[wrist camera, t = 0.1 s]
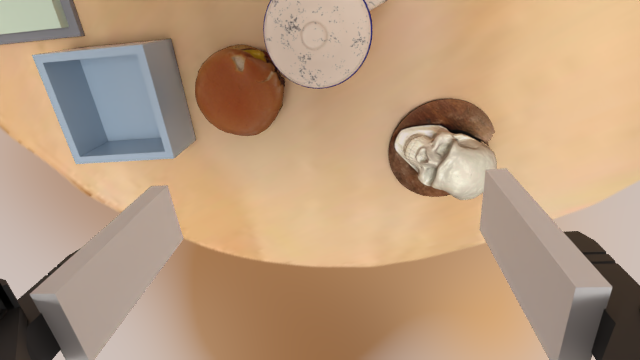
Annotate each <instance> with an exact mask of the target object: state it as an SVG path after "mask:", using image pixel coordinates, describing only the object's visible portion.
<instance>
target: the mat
mask: <svg viewBox="0 0 640 360" xmlns="http://www.w3.org/2000/svg"><path fill="white" fill-rule="evenodd" d="M60 2H61V5H62V8H63V11H64V13H65V16H66V19H67V22H68V25H69V27H65V28H56V29H47V30H37V31H28V32H19V33H10V34H0V44H9V43H19V42H28V41H38V40H48V39H57V38H67V37H76V36H85V35H84V32H83V29H82V26H81V23H80V20H79V17H78V14H77V11H76V8H75V5H74V3H73V0H60Z"/></svg>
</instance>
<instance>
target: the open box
mask: <svg viewBox="0 0 640 360" xmlns="http://www.w3.org/2000/svg"><path fill="white" fill-rule="evenodd" d="M32 56H33V59H34V61H35V64H36V66H37V69H38V71H39V74H40V76H41V79H42V81H43V84H44V86H45V89H46V91H47V94H48V96H49V99H50V101H51V104H52V106H53V108H54V111H55V113H56V116H57V118H58V121H59V123H60V126H61V128H62V131H63V133H64V136H65V138H66V141H67V143H68V146H69V148H70V151H71V153H72V156H73V158H74V161H75V163H76V164H84V163H101V162H119V161H136V160H153V159H171V158H175V157H176V156H177V155H179V154H180V153H181V152H182V151H183V150H185V149H186V148H187V147H188V146H189V145H190V144H192V143H193V142H194V141H195V140H196V138H195V134H194V130H193V126H192V122H191V118H190V114H189V110H188V105H187V101H186V97H185V93H184V89H183V85H182V81H181V77H180V73H179V69H178V65H177V61H176V57H175V53H174V49H173V45H172V41H171V39H164V40H154V41H144V42H134V43H124V44H114V45H104V46H94V47H83V48H74V49H67V50H61V51H55V52H49V53H43V54H36V55H32Z"/></svg>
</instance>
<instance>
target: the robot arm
mask: <svg viewBox="0 0 640 360" xmlns="http://www.w3.org/2000/svg"><path fill="white" fill-rule="evenodd" d="M480 231H481V233H482V235H483V237H484V239H485V241H486V243H487V244H488V246H489V248H490V250H491V252H492V254H493V256H494V257H495V259H496V261H497V263H498V265H499V267H500V268H501V270H502V272H503V274H504V276H505V278H506V280H507V282H508V283H509V285H510V287H511V289H512V291H513V293H514V294H515V297H516V298H517V300H518V302H519V304H520V306H521V307H522V309H523V311H524V313H525V315H526V317H527V319H528V320H529V322H530V324H531V326H532V328H533V330H534V332H535V334H536V336H537V337H538V339H539V341H540V343H541V345H542V347H543V349H544V350H545V352H546V354H547V356H548V358H549V360H591V357H592V354H593V356H594V357H595V359H596V360H640V285H638V284H637V282H636V281H635V280H634V279H633V278H632V277H631V276H630V275H628V273H627V272H626V271H624V269H622V268H621V266H620V265H618V264H616V263H615V260H614V259H612V257H611V256H610V255H609V254H606V251H605V250H604V249H603V248H602V247H601V246H600V245H599V244H598V243H597V242H596V241H594V240H593V239H591V238H589V237H587V236H586V235H584V234H582V233H580V232H578V231H572V232H563V231H562V230H561V229H560V228H559V227H558V226H557V225H556V223H555V222H554V221H553V220H552V219H551V218H550V217H549V216H548V214H547V213H546V212H545V211H544V210H543V209H542V208H541V207H540V206H539V204H538V203H537V202H536V201H535V200H534V199H533V198H532V197H531V195H530V194H529V193H528V192H527V191H526V190H525V189H524V188H523V187H522V185H521V184H520V183H519V182H518V181H517V180H516V179H515V178H514V177H513V175H512V174H511V173H510V172H509V171H508V170H507V169H488V170H486V171H485V181H484V191H483V201H482V211H481V221H480ZM182 240H183V235H182V232H181V229H180V225H179V222H178V219H177V215H176V212H175V209H174V205H173V202H172V199H171V195H170V192H169V189H168V186H151V187H150V188H148V189H147V190H146V191H145V192H144V193H143V194H142V195H141V196H139V197H138V198H137V199H136V200H135V201H134V202H133V203H132V204H130V205H129V206H128V207H127V208H126V209H125V210H124V211H123V212H121V213H120V214H119V215H118V216H117V217H116V218H115V219H114V220H112V221H111V222H110V223H109V224H108V225H107V226H106V227H104V228H103V229H102V230H101V231H100V232H99V233H98V234H97V235H95V236H94V237H93V238H92V239H91V240H90V241H89V242H88V243H87V244H85V245H84V246H83V247H82V248H81V249H79V250H77V251H75V252H74V253H72V254H70V255H69V256H67V257H66V258H65V259H64V260H63V261H62V262H61V263H60V264H58V265H57V267H55V268H54V269H53V270H51V271H50V272H49V273H48V275H47V276H44V277H43V279H41V280H40V281H39V282H38V283H36V285H34V286H33V287H32V288H31V289H30V290H28V291H27V292H26V293H25V294H24V295H23V296H22V297H21V298H19V299H18V300H17V299H16V297H15V296H14V294H13V292H12V290H11V289H10V287H9V285H8V283H7V282H6V280H3V279H0V360H52V359H53V358H54V357H55V356H56V354H57V353H58V352H59V351H60V350H61V352H62V354H63V356H64V357H65V359H66V360H94V359H95V358H96V357H97V355H98V354H99V353H100V351H101V350H102V349H103V347H104V346H105V345H106V343H107V342H108V341H109V339H110V338H111V336H112V335H113V334H114V332H115V331H116V330H117V328H118V327H119V326H120V324H121V323H122V322H123V320H124V319H125V318H126V316H127V315H128V313H129V312H130V311H131V309H132V308H133V307H134V305H135V304H136V303H137V301H138V300H139V298H140V297H141V296H142V294H143V293H144V292H145V290H146V289H147V287H148V286H149V285H150V284H151V282H152V281H153V280H154V278H155V277H156V275H157V274H158V273H159V271H160V270H161V269H162V267H163V266H164V265H165V263H166V262H167V261H168V259H169V258H170V256H171V255H172V254H173V252H174V251H175V250H176V248H177V247H178V246H179V244H180V243H181V241H182Z"/></svg>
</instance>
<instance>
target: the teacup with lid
mask: <svg viewBox="0 0 640 360" xmlns="http://www.w3.org/2000/svg"><path fill="white" fill-rule="evenodd" d="M385 1H387V0H271V1H270V3H269V5H268V7H267V10H266V14H265V18H264V28H263V30H264V41H265V45H266V49H267V51H268V54H269V56H270V58H271V60H272V62H273V63H274V65H275V66H276V68H277V69H278V70H279V71H280V72H281V73H282V74H283V75H284V76H285V77H287V78H288V79H289V80H291V81H293V82H294V83H296V84H298V85H301V86H304V87H308V88H317V89H320V88H329V87H333V86H336V85H338V84H340V83H342V82H344V81H346V80H347V79H349V78H350V77H351V76H352V75H354V74H355V73H356V72H357V70H358V69H359V68H360V67H361V65H362V64H363V62H364V61H365V59H366V57H367V55H368V52H369V49H370V45H371V40H372V20H371V15H370V12H369V11H370V10H372V9H374V8H375V7H377V6H379V5H380V4H382V3H384V2H385Z"/></svg>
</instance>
